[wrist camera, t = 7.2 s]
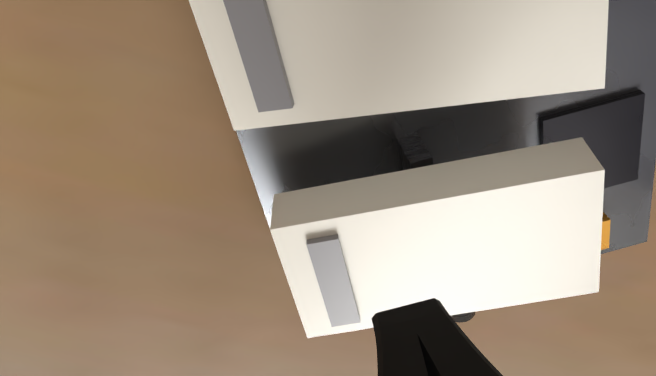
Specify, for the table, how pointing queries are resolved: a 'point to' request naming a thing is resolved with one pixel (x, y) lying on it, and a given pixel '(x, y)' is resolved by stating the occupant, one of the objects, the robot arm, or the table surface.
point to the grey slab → (493, 134)
